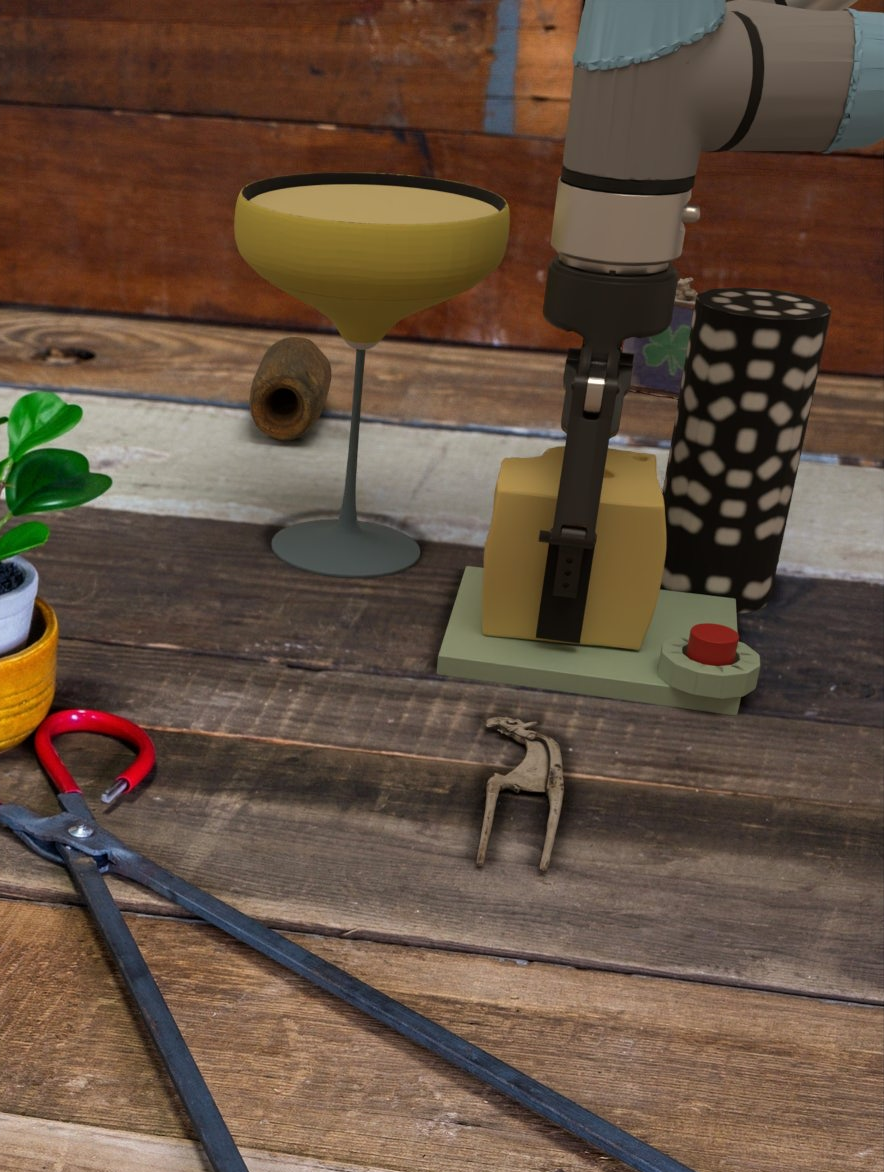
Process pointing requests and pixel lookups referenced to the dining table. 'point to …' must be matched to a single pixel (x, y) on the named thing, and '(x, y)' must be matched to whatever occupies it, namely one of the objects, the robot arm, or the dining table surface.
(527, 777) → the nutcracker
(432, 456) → the dining table surface
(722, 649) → the button
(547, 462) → the cheese
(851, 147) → the robot arm
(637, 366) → the flask
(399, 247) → the cocktail glass
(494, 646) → the scale
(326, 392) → the brown hollow cylinder
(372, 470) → the dining table surface
